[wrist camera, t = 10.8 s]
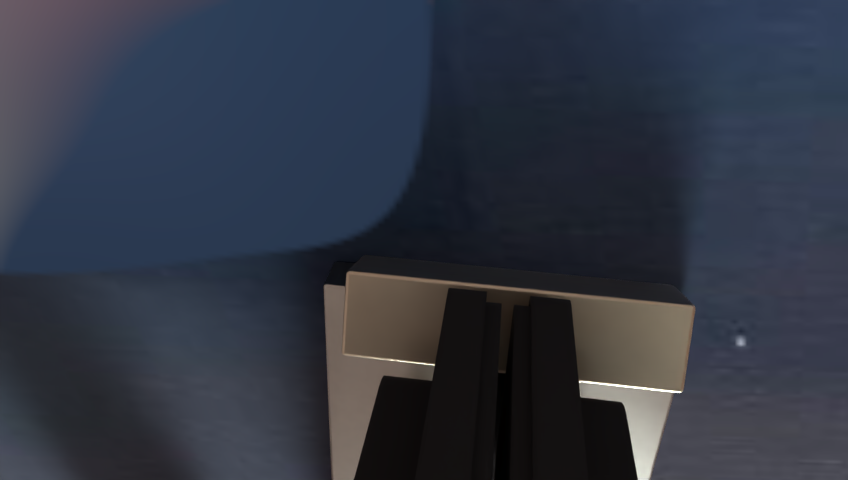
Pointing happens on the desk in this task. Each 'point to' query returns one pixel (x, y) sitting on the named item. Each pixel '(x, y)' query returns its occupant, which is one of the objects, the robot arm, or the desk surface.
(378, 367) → the bracket
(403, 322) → the lever
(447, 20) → the desk surface
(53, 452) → the desk surface
